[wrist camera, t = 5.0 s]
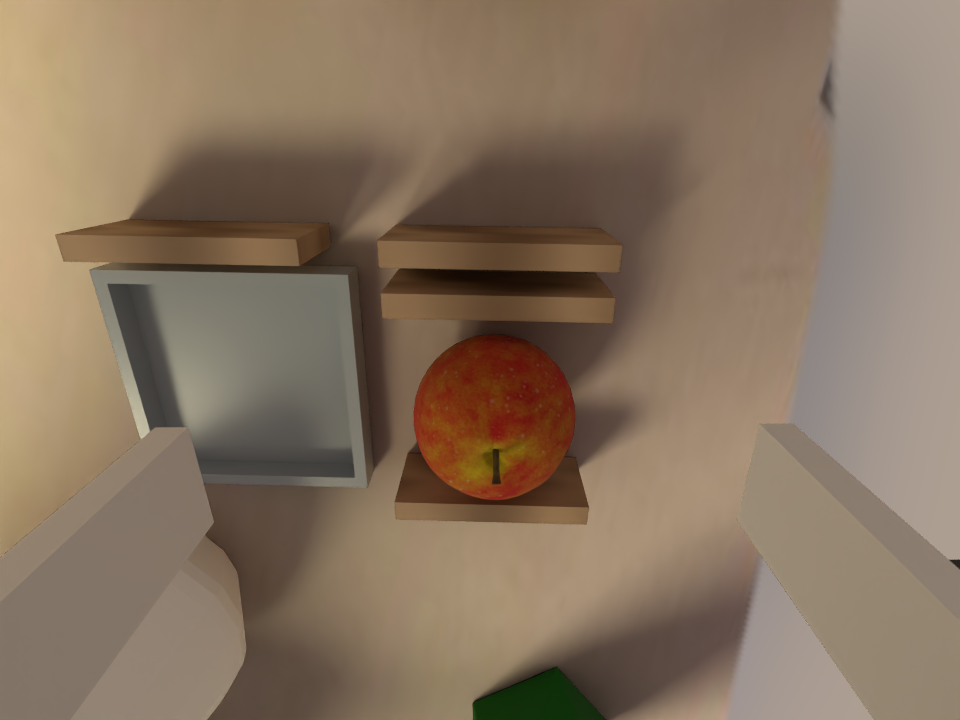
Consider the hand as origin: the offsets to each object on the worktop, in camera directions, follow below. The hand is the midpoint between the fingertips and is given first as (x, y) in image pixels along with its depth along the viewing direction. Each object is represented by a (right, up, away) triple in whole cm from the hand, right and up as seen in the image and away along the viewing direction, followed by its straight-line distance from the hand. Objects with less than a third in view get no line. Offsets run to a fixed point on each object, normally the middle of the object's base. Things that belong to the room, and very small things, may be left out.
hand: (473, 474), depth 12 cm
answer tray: (-11, +2, +13) cm, 17 cm away
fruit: (+1, +2, +13) cm, 13 cm away
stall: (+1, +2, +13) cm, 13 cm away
